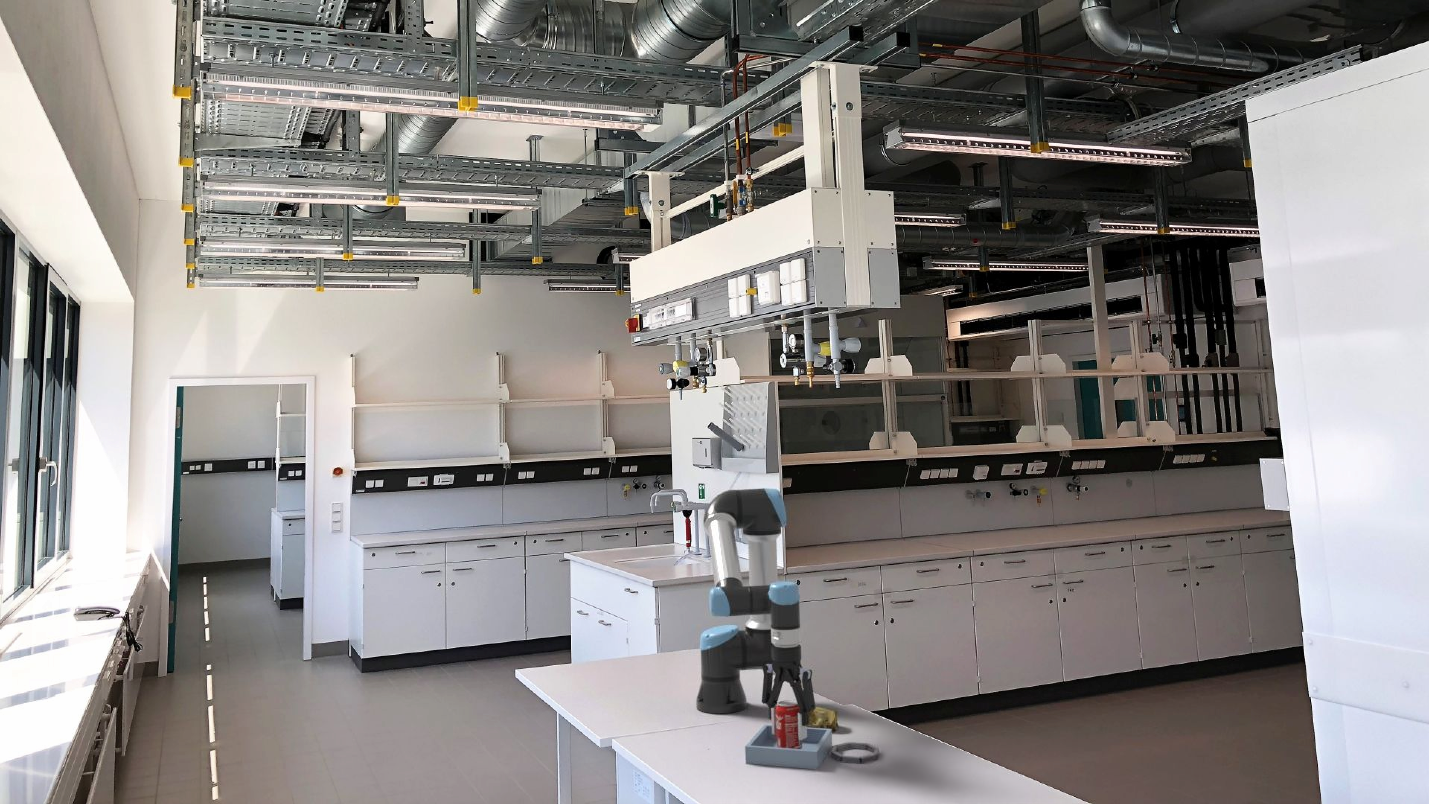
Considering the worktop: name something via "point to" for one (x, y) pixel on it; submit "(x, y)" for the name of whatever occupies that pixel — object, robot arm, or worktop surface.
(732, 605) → the robot arm
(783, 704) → the beverage can
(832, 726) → the animal skull
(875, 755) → the ring
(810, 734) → the bin
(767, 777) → the worktop surface
